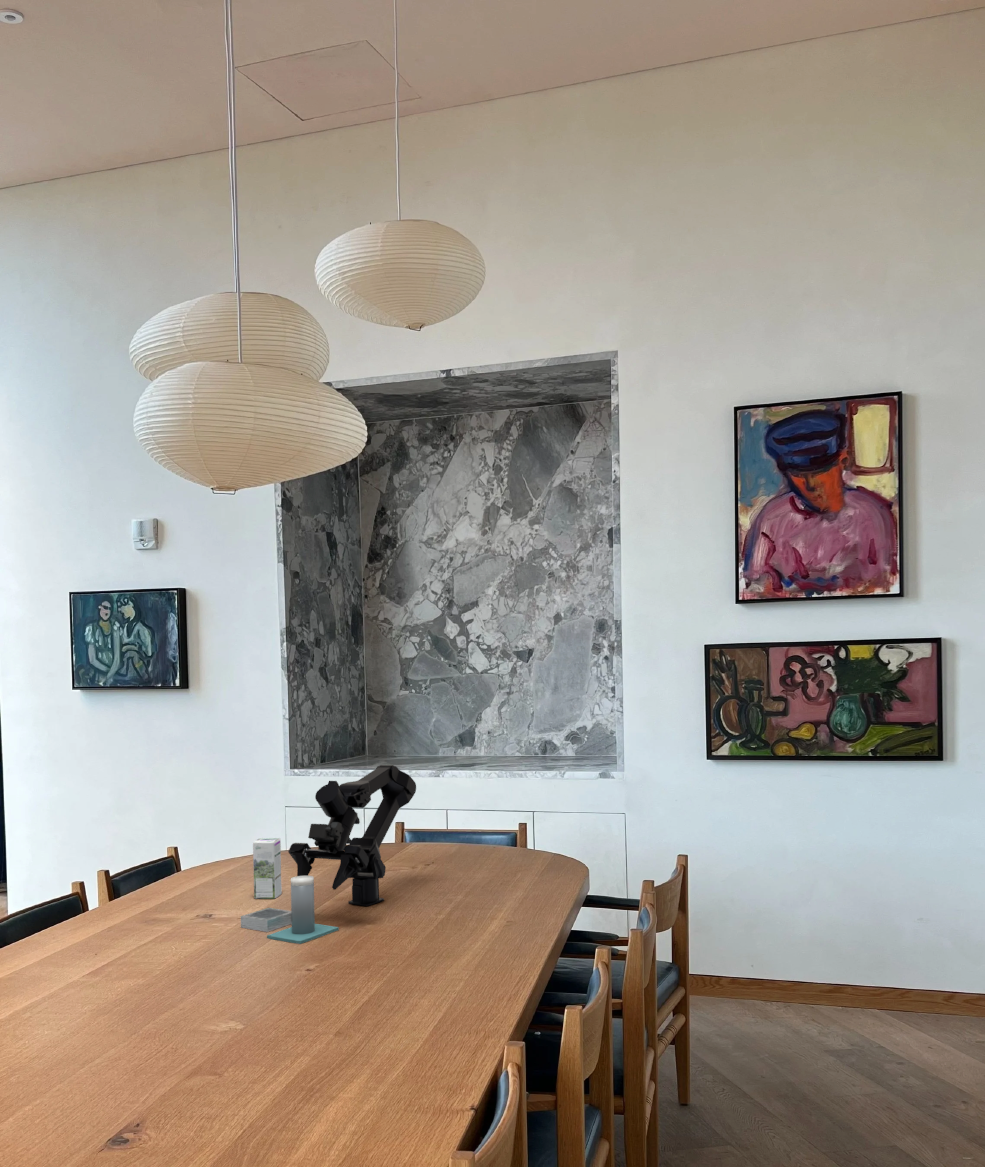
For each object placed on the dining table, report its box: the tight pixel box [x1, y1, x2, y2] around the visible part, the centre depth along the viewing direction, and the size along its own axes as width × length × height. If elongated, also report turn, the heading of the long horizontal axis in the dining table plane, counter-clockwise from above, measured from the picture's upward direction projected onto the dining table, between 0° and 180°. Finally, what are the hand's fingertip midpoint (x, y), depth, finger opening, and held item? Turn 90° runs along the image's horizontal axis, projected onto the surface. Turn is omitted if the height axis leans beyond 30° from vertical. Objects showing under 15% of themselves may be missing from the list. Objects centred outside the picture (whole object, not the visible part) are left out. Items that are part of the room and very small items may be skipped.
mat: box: [266, 923, 340, 945], centre depth 218 cm, size 12×10×1 cm
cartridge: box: [290, 875, 316, 934], centre depth 219 cm, size 5×5×12 cm
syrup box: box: [252, 837, 283, 900], centre depth 256 cm, size 6×6×14 cm
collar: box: [240, 907, 292, 933], centre depth 227 cm, size 9×9×2 cm
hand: (315, 887), depth 224 cm, fingers open, 9 cm apart
